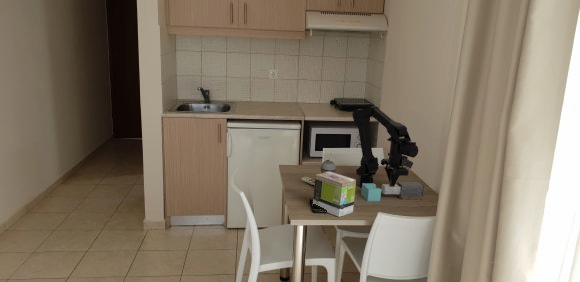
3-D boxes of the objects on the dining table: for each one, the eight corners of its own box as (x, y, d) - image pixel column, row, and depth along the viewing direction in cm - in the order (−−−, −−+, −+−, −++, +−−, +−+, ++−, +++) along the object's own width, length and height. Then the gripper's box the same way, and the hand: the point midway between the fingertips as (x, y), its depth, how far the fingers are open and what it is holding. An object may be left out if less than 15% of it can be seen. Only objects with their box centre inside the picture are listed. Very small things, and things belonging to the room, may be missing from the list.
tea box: (353, 212, 192) (357, 179, 189) (338, 217, 185) (341, 183, 182) (327, 202, 203) (329, 170, 199) (311, 206, 196) (314, 173, 193)
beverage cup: (324, 188, 221) (327, 148, 216) (336, 192, 216) (340, 151, 212) (315, 191, 215) (318, 150, 211) (328, 195, 211) (331, 154, 206)
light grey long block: (384, 194, 211) (386, 177, 209) (381, 191, 214) (383, 175, 212) (418, 194, 214) (420, 177, 212) (414, 191, 217) (416, 175, 215)
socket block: (367, 201, 207) (368, 189, 206) (361, 194, 215) (362, 183, 214) (380, 201, 208) (381, 189, 207) (373, 194, 217) (374, 183, 215)
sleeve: (400, 199, 212) (402, 185, 210) (395, 195, 217) (397, 181, 215) (422, 199, 214) (424, 185, 212) (417, 195, 219) (419, 182, 217)
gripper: (421, 157, 201) (417, 191, 205) (403, 147, 219) (400, 178, 223) (398, 157, 199) (393, 191, 203) (382, 147, 217) (378, 178, 221)
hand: (392, 184), depth 212 cm, fingers closed on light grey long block, 2 cm apart
